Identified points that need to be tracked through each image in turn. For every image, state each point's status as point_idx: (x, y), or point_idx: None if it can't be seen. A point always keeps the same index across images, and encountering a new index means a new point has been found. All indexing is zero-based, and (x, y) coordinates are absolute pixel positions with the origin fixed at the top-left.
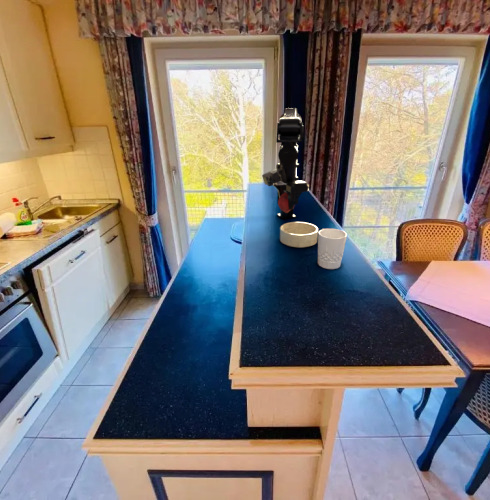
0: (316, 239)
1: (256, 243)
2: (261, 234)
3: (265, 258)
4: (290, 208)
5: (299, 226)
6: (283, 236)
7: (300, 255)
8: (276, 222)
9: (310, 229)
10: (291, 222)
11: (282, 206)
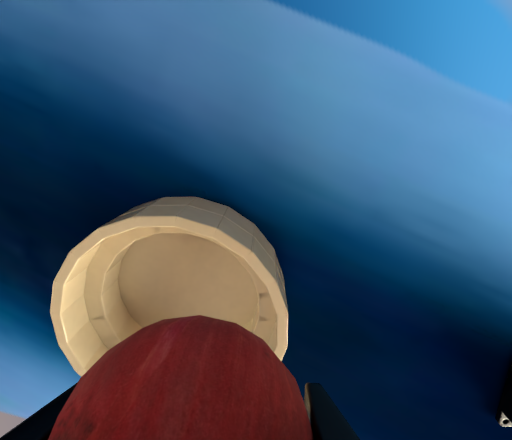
0: None
1: (239, 55)
2: (360, 142)
3: (26, 28)
4: None
5: None
6: (146, 207)
7: (34, 218)
8: (491, 302)
9: None
10: (282, 336)
11: (119, 346)
